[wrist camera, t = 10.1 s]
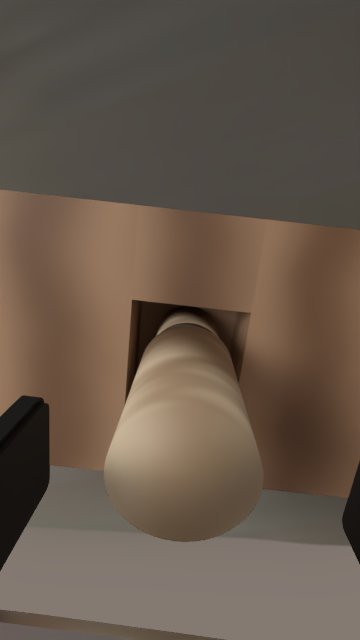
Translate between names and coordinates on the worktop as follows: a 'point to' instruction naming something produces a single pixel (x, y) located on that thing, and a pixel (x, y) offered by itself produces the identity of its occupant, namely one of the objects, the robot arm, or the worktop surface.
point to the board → (174, 291)
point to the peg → (184, 437)
